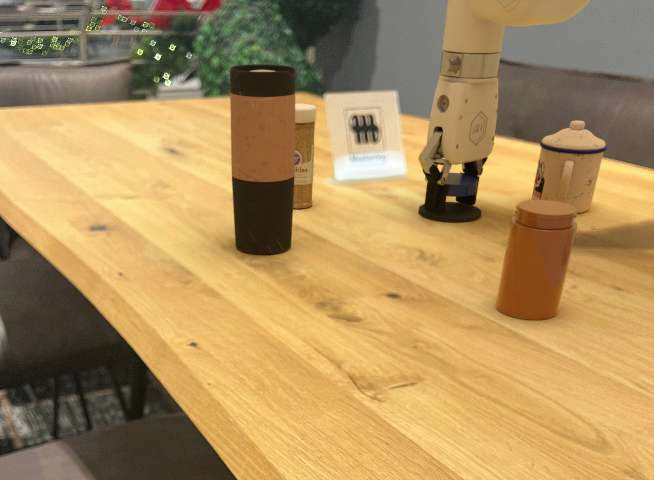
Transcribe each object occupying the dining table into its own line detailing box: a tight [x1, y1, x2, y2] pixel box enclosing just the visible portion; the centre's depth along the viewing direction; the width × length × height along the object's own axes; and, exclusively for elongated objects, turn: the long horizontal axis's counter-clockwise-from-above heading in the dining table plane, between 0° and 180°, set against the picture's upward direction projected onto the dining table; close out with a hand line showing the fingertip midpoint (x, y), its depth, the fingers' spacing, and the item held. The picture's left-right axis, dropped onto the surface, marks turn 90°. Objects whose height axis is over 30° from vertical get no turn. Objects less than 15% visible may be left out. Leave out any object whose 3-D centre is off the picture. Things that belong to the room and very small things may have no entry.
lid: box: [445, 172, 478, 198], centre depth 109 cm, size 7×7×2 cm
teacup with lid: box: [530, 119, 607, 214], centre depth 110 cm, size 12×9×12 cm
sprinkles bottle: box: [293, 103, 317, 209], centre depth 110 cm, size 5×5×13 cm
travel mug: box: [229, 63, 297, 256], centre depth 92 cm, size 8×8×20 cm
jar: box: [495, 199, 579, 321], centre depth 78 cm, size 6×6×10 cm
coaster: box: [418, 201, 483, 223], centre depth 111 cm, size 9×9×1 cm
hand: (449, 206), depth 110 cm, fingers closed on lid, 6 cm apart
